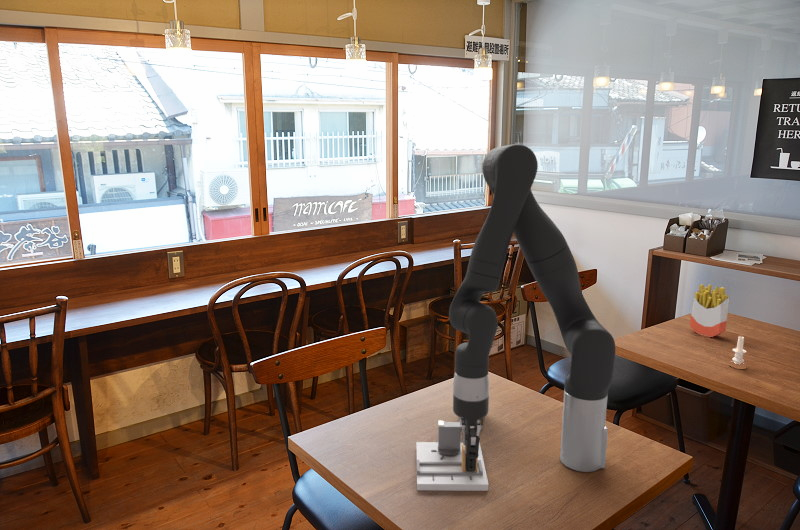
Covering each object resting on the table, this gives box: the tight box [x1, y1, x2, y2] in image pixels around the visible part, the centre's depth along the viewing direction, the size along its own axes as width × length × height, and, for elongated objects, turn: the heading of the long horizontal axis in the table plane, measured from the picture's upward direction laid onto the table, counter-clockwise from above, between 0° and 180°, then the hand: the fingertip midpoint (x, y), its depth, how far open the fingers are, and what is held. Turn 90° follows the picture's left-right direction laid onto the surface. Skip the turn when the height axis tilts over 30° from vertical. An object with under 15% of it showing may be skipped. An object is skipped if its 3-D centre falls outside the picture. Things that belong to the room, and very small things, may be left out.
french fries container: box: [689, 284, 730, 338], centre depth 215 cm, size 5×11×18 cm, turn 33°
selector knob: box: [437, 419, 462, 456], centre depth 138 cm, size 5×5×7 cm
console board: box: [415, 441, 489, 492], centre depth 135 cm, size 15×17×2 cm
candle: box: [732, 335, 747, 365], centre depth 188 cm, size 5×5×10 cm
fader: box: [462, 444, 478, 472], centre depth 131 cm, size 3×3×5 cm
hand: (469, 463), depth 131 cm, fingers open, 4 cm apart
